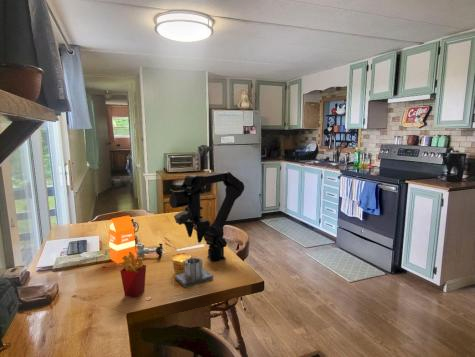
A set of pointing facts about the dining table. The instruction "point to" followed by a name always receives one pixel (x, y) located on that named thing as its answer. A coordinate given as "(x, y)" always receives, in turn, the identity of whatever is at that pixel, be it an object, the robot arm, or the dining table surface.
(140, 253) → the valve
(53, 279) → the dining table surface
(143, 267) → the french fries
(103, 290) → the dining table surface
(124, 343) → the dining table surface
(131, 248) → the orange juice
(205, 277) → the shaft block
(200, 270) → the cylinder
